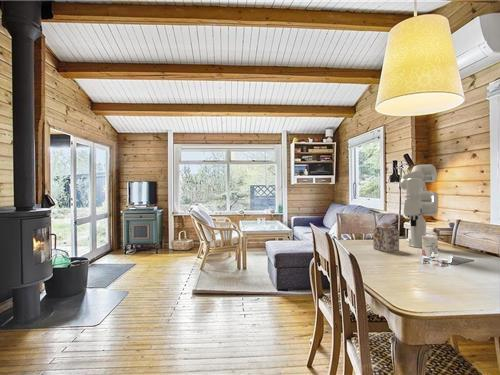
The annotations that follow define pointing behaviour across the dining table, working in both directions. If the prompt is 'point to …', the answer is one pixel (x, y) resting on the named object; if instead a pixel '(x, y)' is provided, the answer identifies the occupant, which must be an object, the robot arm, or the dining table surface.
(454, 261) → the mat
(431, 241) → the ink cartridge box
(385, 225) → the decorative jar
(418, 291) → the dining table surface
